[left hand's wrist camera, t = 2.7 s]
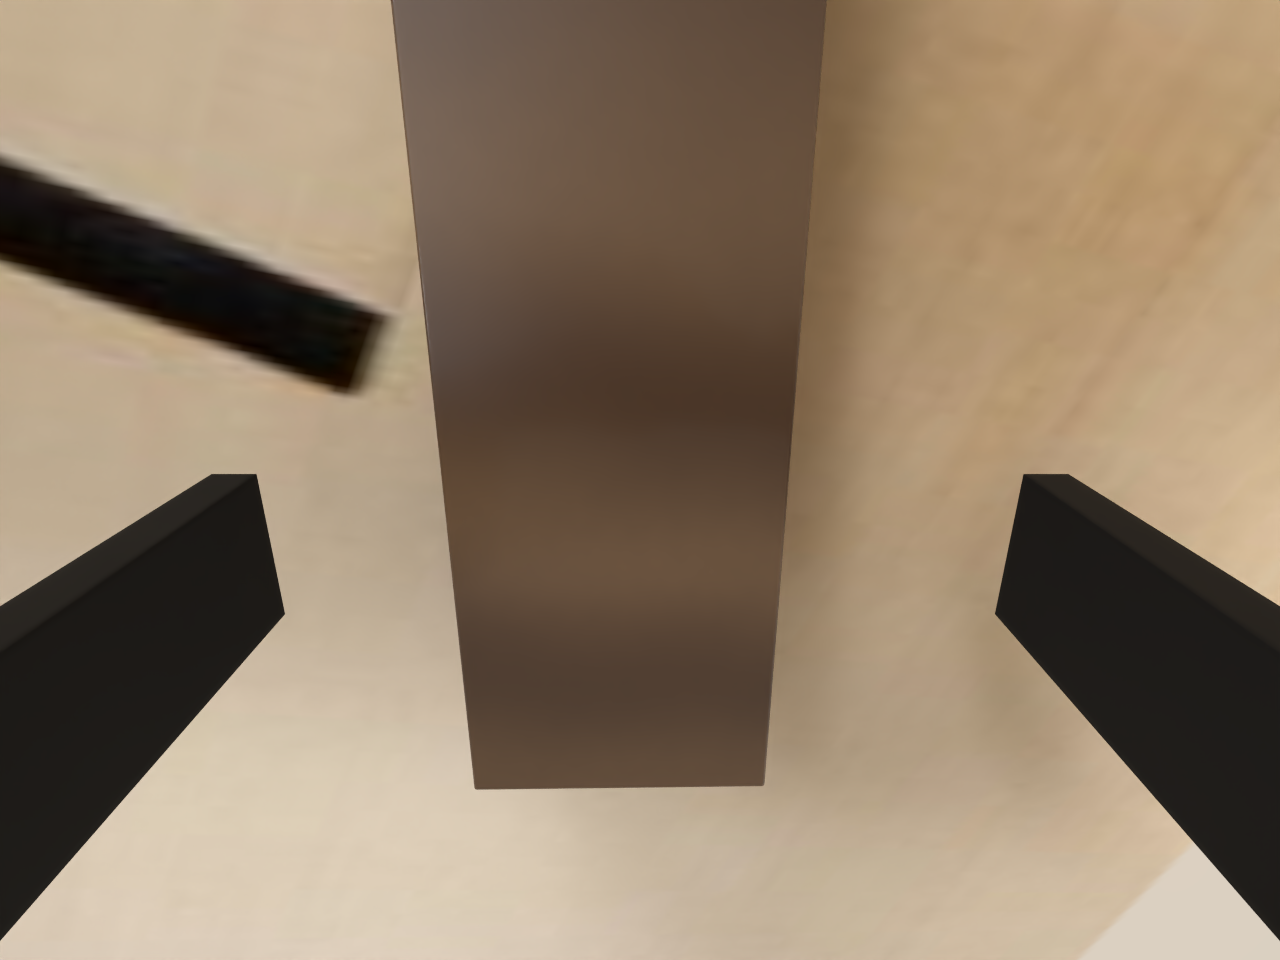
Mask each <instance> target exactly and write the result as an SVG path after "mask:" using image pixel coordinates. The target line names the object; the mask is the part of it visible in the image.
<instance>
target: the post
mask: <svg viewBox="0 0 1280 960" xmlns="http://www.w3.org/2000/svg"><path fill="white" fill-rule="evenodd" d="M826 3H827V0H391V5H392V15H393V24H394V34H395V43H396V52H397V62H398V71H399V81H400V90H401V99H402V109H403V118H404V128H405V137H406V147H407V156H408V165H409V175H410V184H411V194H412V203H413V212H414V222H415V231H416V241H417V250H418V260H419V269H420V278H421V288H422V297H423V307H424V316H425V325H426V335H427V344H428V354H429V363H430V372H431V382H432V391H433V401H434V410H435V420H436V429H437V438H438V448H439V457H440V467H441V476H442V485H443V495H444V504H445V514H446V523H447V533H448V542H449V551H450V561H451V570H452V580H453V589H454V598H455V608H456V617H457V627H458V636H459V645H460V655H461V664H462V674H463V683H464V693H465V702H466V711H467V721H468V730H469V740H470V749H471V758H472V768H473V777H474V787H475V789H477V790H478V789H558V788H639V787H719V786H763V785H764V781H765V768H766V755H767V743H768V730H769V718H770V705H771V693H772V680H773V668H774V655H775V643H776V630H777V618H778V605H779V592H780V580H781V567H782V555H783V542H784V530H785V517H786V505H787V492H788V480H789V467H790V454H791V442H792V429H793V417H794V404H795V392H796V379H797V367H798V354H799V342H800V329H801V317H802V304H803V291H804V279H805V266H806V254H807V241H808V229H809V216H810V204H811V191H812V179H813V166H814V154H815V141H816V128H817V116H818V103H819V91H820V78H821V66H822V53H823V41H824V28H825V16H826Z"/></svg>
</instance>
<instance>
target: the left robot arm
mask: <svg viewBox="0 0 1280 960" xmlns="http://www.w3.org/2000/svg"><path fill="white" fill-rule="evenodd" d="M284 614H285V612H284V607H283V602H282V597H281V592H280V587H279V583H278V578H277V573H276V568H275V563H274V558H273V553H272V548H271V543H270V538H269V534H268V529H267V524H266V519H265V514H264V509H263V504H262V499H261V494H260V489H259V484H258V480H257V475H256V474H211V475H210V476H208V477H206V478H205V479H203V480H202V481H200V482H198V483H197V484H195V485H194V486H192V487H190V488H189V489H187V490H186V491H184V492H182V493H181V494H179V495H178V496H176V497H174V498H173V499H171V500H170V501H168V502H166V503H165V504H163V505H162V506H160V507H158V508H157V509H155V510H154V511H152V512H150V513H149V514H147V515H146V516H144V517H142V518H141V519H139V520H138V521H136V522H134V523H133V524H131V525H130V526H128V527H126V528H125V529H123V530H122V531H120V532H118V533H117V534H115V535H114V536H112V537H110V538H109V539H107V540H106V541H104V542H102V543H101V544H99V545H98V546H96V547H94V548H93V549H91V550H90V551H88V552H86V553H85V554H83V555H82V556H80V557H78V558H77V559H75V560H74V561H72V562H70V563H69V564H67V565H66V566H64V567H62V568H61V569H59V570H58V571H56V572H54V573H53V574H51V575H50V576H48V577H46V578H45V579H43V580H42V581H40V582H38V583H37V584H35V585H34V586H32V587H30V588H29V589H27V590H26V591H24V592H22V593H21V594H19V595H18V596H16V597H14V598H13V599H11V600H10V601H8V602H6V603H5V604H3V605H2V606H0V940H1V939H2V938H3V937H4V936H5V935H6V933H7V932H8V931H9V930H10V929H11V928H12V927H13V925H14V924H15V923H16V922H17V921H18V920H19V919H20V917H21V916H22V915H23V914H24V913H25V912H26V911H27V909H28V908H29V907H30V906H31V905H32V904H33V903H34V901H35V900H36V899H37V898H38V897H39V896H40V894H41V893H42V892H43V891H44V890H45V889H46V888H47V886H48V885H49V884H50V883H51V882H52V881H53V880H54V878H55V877H56V876H57V875H58V874H59V873H60V872H61V870H62V869H63V868H64V867H65V866H66V865H67V863H68V862H69V861H70V860H71V859H72V858H73V857H74V855H75V854H76V853H77V852H78V851H79V850H80V849H81V847H82V846H83V845H84V844H85V843H86V842H87V841H88V839H89V838H90V837H91V836H92V835H93V834H94V833H95V831H96V830H97V829H98V828H99V827H100V826H101V824H102V823H103V822H104V821H105V820H106V819H107V818H108V816H109V815H110V814H111V813H112V812H113V811H114V810H115V808H116V807H117V806H118V805H119V804H120V803H121V802H122V800H123V799H124V798H125V797H126V796H127V795H128V793H129V792H130V791H131V790H132V789H133V788H134V787H135V785H136V784H137V783H138V782H139V781H140V780H141V779H142V777H143V776H144V775H145V774H146V773H147V772H148V771H149V769H150V768H151V767H152V766H153V765H154V764H155V763H156V761H157V760H158V759H159V758H160V757H161V756H162V754H163V753H164V752H165V751H166V750H167V749H168V748H169V746H170V745H171V744H172V743H173V742H174V741H175V740H176V738H177V737H178V736H179V735H180V734H181V733H182V732H183V730H184V729H185V728H186V727H187V726H188V725H189V723H190V722H191V721H192V720H193V719H194V718H195V717H196V715H197V714H198V713H199V712H200V711H201V710H202V709H203V707H204V706H205V705H206V704H207V703H208V702H209V701H210V699H211V698H212V697H213V696H214V695H215V694H216V693H217V691H218V690H219V689H220V688H221V687H222V686H223V684H224V683H225V682H226V681H227V680H228V679H229V678H230V676H231V675H232V674H233V673H234V672H235V671H236V670H237V668H238V667H239V666H240V665H241V664H242V663H243V662H244V660H245V659H246V658H247V657H248V656H249V655H250V653H251V652H252V651H253V650H254V649H255V648H256V647H257V645H258V644H259V643H260V642H261V641H262V640H263V639H264V637H265V636H266V635H267V634H268V633H269V632H270V631H271V629H272V628H273V627H274V626H275V625H276V624H277V623H278V621H279V620H280V619H281V618H282V617H283V616H284ZM995 614H996V616H997V617H998V618H999V619H1000V620H1001V621H1002V623H1003V624H1004V625H1005V626H1006V627H1007V628H1008V629H1009V631H1010V632H1011V633H1012V634H1013V635H1014V636H1015V637H1016V639H1017V640H1018V641H1019V642H1020V643H1021V644H1022V645H1023V647H1024V648H1025V649H1026V650H1027V651H1028V652H1029V653H1030V655H1031V656H1032V657H1033V658H1034V659H1035V660H1036V662H1037V663H1038V664H1039V665H1040V666H1041V667H1042V668H1043V670H1044V671H1045V672H1046V673H1047V674H1048V675H1049V676H1050V678H1051V679H1052V680H1053V681H1054V682H1055V683H1056V684H1057V686H1058V687H1059V688H1060V689H1061V690H1062V691H1063V693H1064V694H1065V695H1066V696H1067V697H1068V698H1069V699H1070V701H1071V702H1072V703H1073V704H1074V705H1075V706H1076V707H1077V709H1078V710H1079V711H1080V712H1081V713H1082V714H1083V715H1084V717H1085V718H1086V719H1087V720H1088V721H1089V722H1090V723H1091V725H1092V726H1093V727H1094V728H1095V729H1096V730H1097V732H1098V733H1099V734H1100V735H1101V736H1102V737H1103V738H1104V740H1105V741H1106V742H1107V743H1108V744H1109V745H1110V746H1111V748H1112V749H1113V750H1114V751H1115V752H1116V753H1117V754H1118V756H1119V757H1120V758H1121V759H1122V760H1123V761H1124V763H1125V764H1126V765H1127V766H1128V767H1129V768H1130V769H1131V771H1132V772H1133V773H1134V774H1135V775H1136V776H1137V777H1138V779H1139V780H1140V781H1141V782H1142V783H1143V784H1144V785H1145V787H1146V788H1147V789H1148V790H1149V791H1150V792H1151V793H1152V795H1153V796H1154V797H1155V798H1156V799H1157V800H1158V802H1159V803H1160V804H1161V805H1162V806H1163V807H1164V808H1165V810H1166V811H1167V812H1168V813H1169V814H1170V815H1171V816H1172V818H1173V819H1174V820H1175V821H1176V822H1177V823H1178V824H1179V826H1180V827H1181V828H1182V829H1183V830H1184V831H1185V833H1186V834H1187V835H1188V836H1189V837H1190V838H1191V839H1192V841H1193V842H1194V843H1195V844H1196V845H1197V846H1198V847H1199V849H1200V850H1201V851H1202V852H1203V853H1204V854H1205V855H1206V857H1207V858H1208V859H1209V860H1210V861H1211V862H1212V863H1213V865H1214V866H1215V867H1216V868H1217V869H1218V870H1219V872H1220V873H1221V874H1222V875H1223V876H1224V877H1225V878H1226V880H1227V881H1228V882H1229V883H1230V884H1231V885H1232V886H1233V888H1234V889H1235V890H1236V891H1237V892H1238V893H1239V894H1240V896H1241V897H1242V898H1243V899H1244V900H1245V901H1246V903H1247V904H1248V905H1249V906H1250V907H1251V908H1252V909H1253V911H1254V912H1255V913H1256V914H1257V915H1258V916H1259V917H1260V918H1261V920H1262V921H1263V922H1264V923H1265V924H1266V925H1267V927H1268V928H1269V929H1270V930H1271V931H1272V932H1273V933H1274V935H1275V936H1276V937H1277V938H1278V939H1279V940H1280V606H1278V605H1277V604H1275V603H1274V602H1272V601H1270V600H1269V599H1267V598H1266V597H1264V596H1262V595H1261V594H1259V593H1258V592H1256V591H1254V590H1253V589H1251V588H1250V587H1248V586H1246V585H1245V584H1243V583H1242V582H1240V581H1238V580H1237V579H1235V578H1234V577H1232V576H1230V575H1229V574H1227V573H1226V572H1224V571H1222V570H1221V569H1219V568H1218V567H1216V566H1214V565H1213V564H1211V563H1210V562H1208V561H1206V560H1205V559H1203V558H1202V557H1200V556H1198V555H1197V554H1195V553H1194V552H1192V551H1190V550H1189V549H1187V548H1186V547H1184V546H1182V545H1181V544H1179V543H1178V542H1176V541H1174V540H1173V539H1171V538H1170V537H1168V536H1166V535H1165V534H1163V533H1162V532H1160V531H1158V530H1157V529H1155V528H1154V527H1152V526H1150V525H1149V524H1147V523H1146V522H1144V521H1142V520H1141V519H1139V518H1138V517H1136V516H1134V515H1133V514H1131V513H1130V512H1128V511H1126V510H1125V509H1123V508H1122V507H1120V506H1118V505H1117V504H1115V503H1114V502H1112V501H1110V500H1109V499H1107V498H1106V497H1104V496H1102V495H1101V494H1099V493H1098V492H1096V491H1094V490H1093V489H1091V488H1090V487H1088V486H1086V485H1085V484H1083V483H1082V482H1080V481H1078V480H1077V479H1075V478H1074V477H1072V476H1070V475H1069V474H1024V475H1023V480H1022V484H1021V489H1020V494H1019V499H1018V504H1017V509H1016V514H1015V519H1014V524H1013V529H1012V534H1011V538H1010V543H1009V548H1008V553H1007V558H1006V563H1005V568H1004V573H1003V578H1002V583H1001V587H1000V592H999V597H998V602H997V607H996V612H995Z"/></svg>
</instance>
